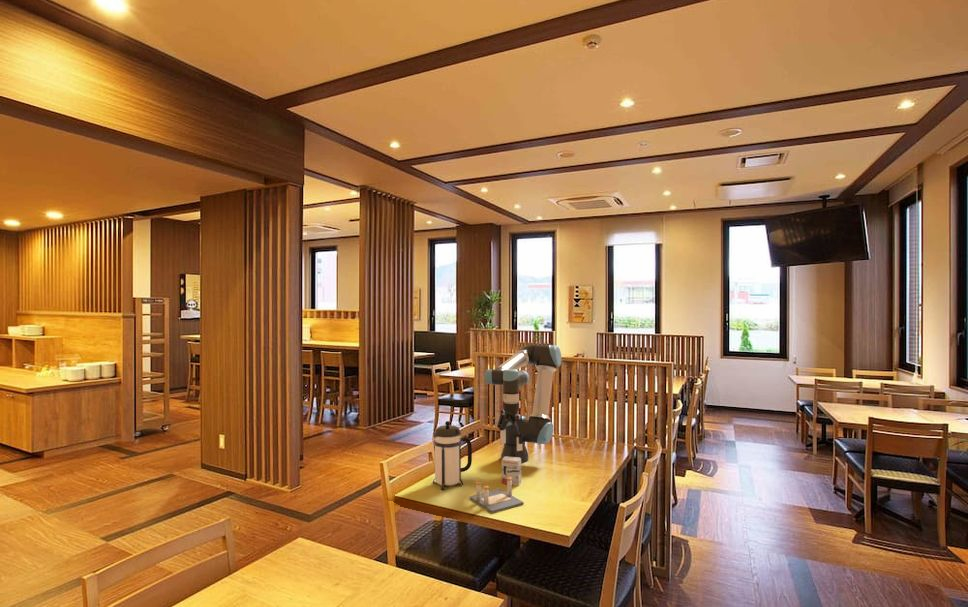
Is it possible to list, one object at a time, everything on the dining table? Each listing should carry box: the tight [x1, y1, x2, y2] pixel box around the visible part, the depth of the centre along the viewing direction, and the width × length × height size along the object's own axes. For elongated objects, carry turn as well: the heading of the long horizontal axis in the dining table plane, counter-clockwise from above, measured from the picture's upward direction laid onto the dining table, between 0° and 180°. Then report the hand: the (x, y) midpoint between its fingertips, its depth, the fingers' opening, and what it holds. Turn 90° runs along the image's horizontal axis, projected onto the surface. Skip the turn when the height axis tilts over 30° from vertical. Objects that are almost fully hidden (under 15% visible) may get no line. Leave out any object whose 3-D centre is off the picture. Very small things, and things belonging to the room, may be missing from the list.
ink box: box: [501, 456, 522, 486], centre depth 232 cm, size 8×5×12 cm, turn 72°
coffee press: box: [432, 420, 473, 491], centre depth 231 cm, size 17×16×30 cm
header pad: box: [469, 477, 525, 514], centre depth 210 cm, size 18×16×9 cm
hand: (511, 447), depth 232 cm, fingers open, 13 cm apart
